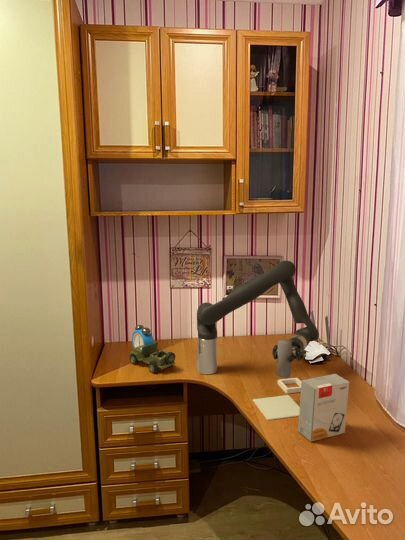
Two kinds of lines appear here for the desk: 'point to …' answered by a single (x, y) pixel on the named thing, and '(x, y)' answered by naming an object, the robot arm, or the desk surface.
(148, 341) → the alarm clock
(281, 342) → the grey cylinder
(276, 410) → the pale sage mat
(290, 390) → the off-white collar
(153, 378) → the desk surface
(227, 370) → the desk surface
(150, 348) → the toy jeep
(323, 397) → the hard drive box
